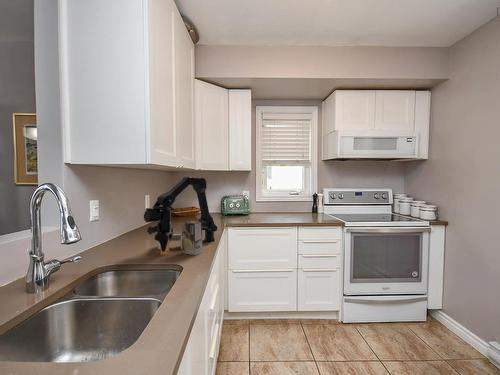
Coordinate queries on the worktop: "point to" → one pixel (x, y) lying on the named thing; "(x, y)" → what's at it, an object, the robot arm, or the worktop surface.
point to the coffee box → (192, 237)
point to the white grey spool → (174, 239)
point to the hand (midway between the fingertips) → (164, 249)
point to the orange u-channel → (165, 249)
